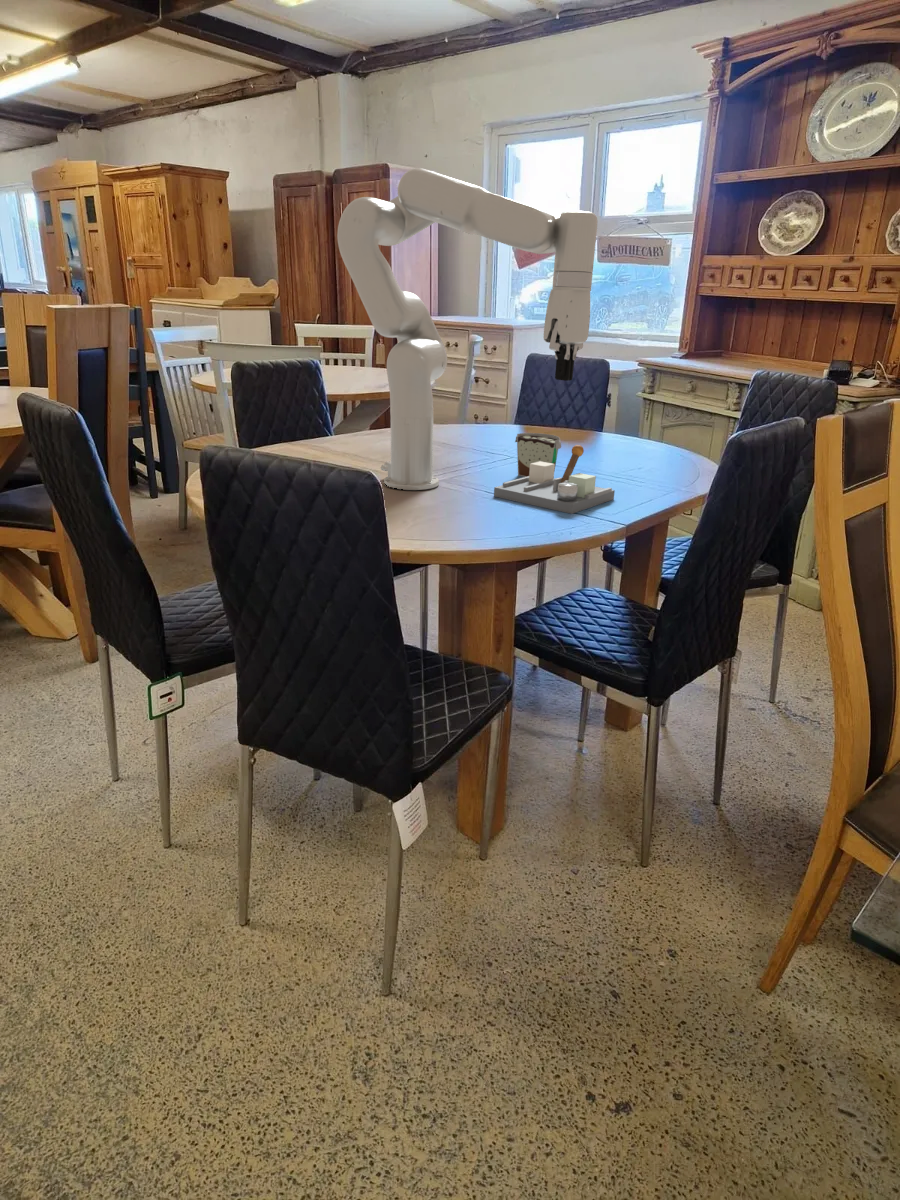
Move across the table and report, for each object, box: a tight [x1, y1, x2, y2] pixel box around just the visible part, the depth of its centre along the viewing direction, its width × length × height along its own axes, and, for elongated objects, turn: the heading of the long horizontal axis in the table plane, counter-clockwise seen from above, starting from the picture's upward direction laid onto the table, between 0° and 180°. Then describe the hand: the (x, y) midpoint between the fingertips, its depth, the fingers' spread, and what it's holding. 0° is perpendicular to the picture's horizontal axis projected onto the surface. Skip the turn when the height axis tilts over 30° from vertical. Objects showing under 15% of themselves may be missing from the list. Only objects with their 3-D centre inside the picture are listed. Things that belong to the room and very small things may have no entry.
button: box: [557, 483, 578, 502], centre depth 156 cm, size 4×4×3 cm
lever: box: [560, 444, 585, 483], centre depth 164 cm, size 3×3×10 cm
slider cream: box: [529, 461, 556, 483], centre depth 171 cm, size 4×4×4 cm
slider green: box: [569, 472, 597, 498], centre depth 160 cm, size 4×4×4 cm
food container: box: [514, 432, 562, 478], centre depth 184 cm, size 12×6×10 cm, turn 47°
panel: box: [493, 476, 616, 515], centre depth 165 cm, size 20×17×4 cm
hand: (563, 379), depth 155 cm, fingers closed
